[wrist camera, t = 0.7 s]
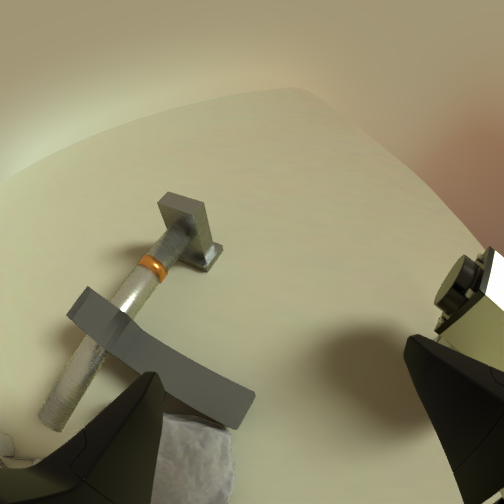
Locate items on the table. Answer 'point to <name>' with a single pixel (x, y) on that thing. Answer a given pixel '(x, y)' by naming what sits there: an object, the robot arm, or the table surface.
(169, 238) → the linear shaft assembly
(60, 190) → the table surface
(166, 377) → the collar
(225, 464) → the stone block
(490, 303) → the pneumatic valve
